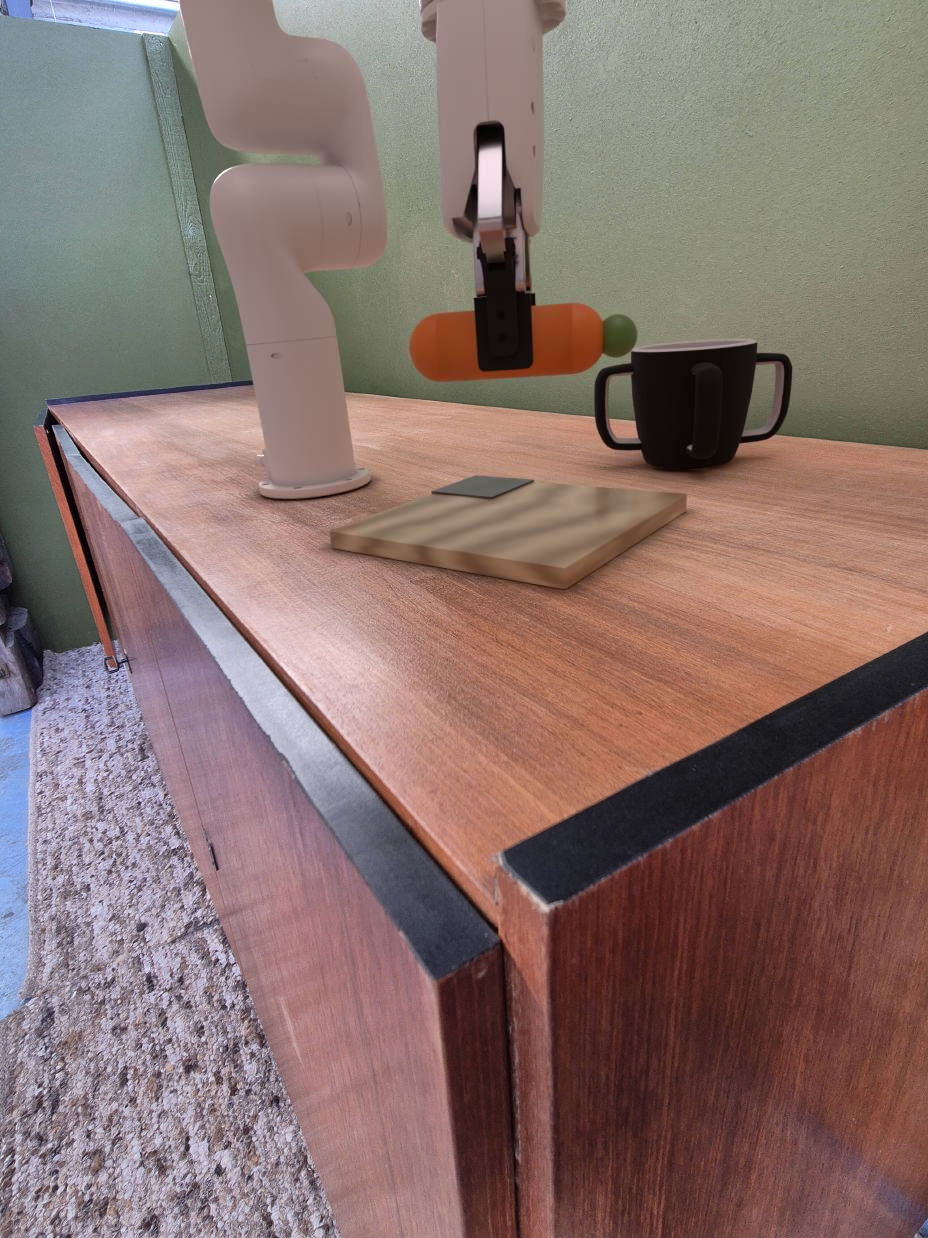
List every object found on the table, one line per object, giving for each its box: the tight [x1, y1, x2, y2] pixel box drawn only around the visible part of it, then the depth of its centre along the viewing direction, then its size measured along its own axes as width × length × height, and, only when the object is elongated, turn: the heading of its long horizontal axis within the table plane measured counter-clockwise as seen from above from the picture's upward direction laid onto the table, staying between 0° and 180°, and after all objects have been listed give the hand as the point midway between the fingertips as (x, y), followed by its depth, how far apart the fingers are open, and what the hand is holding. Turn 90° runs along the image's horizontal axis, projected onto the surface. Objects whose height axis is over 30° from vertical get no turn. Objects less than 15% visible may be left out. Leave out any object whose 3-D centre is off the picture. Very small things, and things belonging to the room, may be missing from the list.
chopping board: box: [328, 474, 688, 590], centre depth 59 cm, size 22×20×2 cm
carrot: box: [408, 302, 638, 383], centre depth 43 cm, size 14×4×4 cm, turn 82°
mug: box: [593, 338, 793, 471], centre depth 74 cm, size 16×16×12 cm
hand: (509, 362), depth 44 cm, fingers closed on carrot, 4 cm apart
